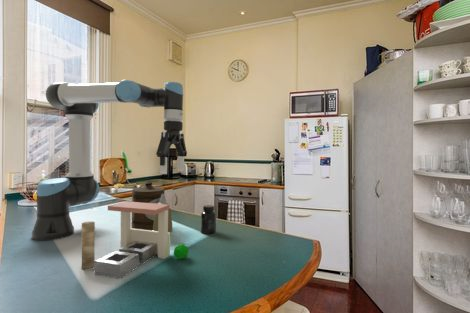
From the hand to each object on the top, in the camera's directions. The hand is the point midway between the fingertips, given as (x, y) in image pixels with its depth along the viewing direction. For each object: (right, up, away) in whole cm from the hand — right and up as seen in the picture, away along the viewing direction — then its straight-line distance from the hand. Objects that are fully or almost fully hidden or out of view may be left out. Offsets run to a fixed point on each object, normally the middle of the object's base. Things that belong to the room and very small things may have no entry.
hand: (172, 172), depth 120 cm
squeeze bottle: (-5, -28, +3) cm, 28 cm away
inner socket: (-7, -28, -20) cm, 35 cm away
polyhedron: (+7, -29, -20) cm, 36 cm away
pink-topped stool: (-7, -28, -20) cm, 35 cm away
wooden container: (-15, -27, +17) cm, 35 cm away
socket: (-10, -28, -31) cm, 43 cm away
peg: (-20, -28, -29) cm, 45 cm away
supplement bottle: (+14, -28, +10) cm, 33 cm away
